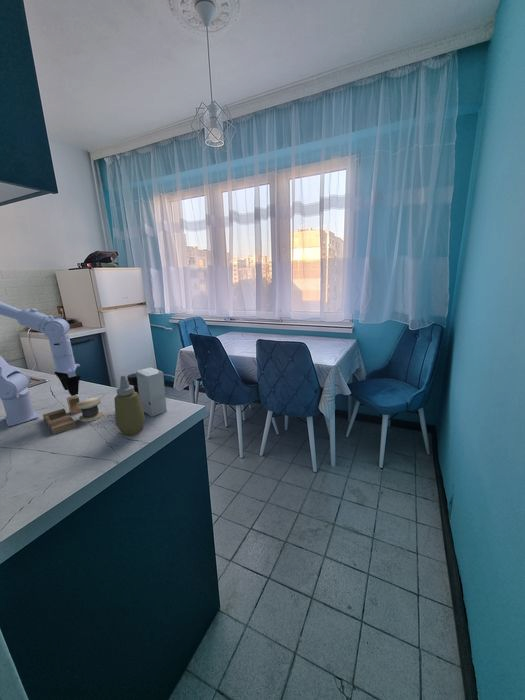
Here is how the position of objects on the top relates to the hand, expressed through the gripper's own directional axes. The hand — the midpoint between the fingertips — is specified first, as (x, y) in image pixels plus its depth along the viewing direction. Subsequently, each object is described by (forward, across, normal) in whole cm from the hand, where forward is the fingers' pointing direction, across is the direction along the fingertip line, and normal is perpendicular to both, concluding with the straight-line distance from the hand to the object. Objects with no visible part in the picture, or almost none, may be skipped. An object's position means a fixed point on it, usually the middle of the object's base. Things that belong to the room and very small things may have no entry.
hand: (71, 392), depth 101 cm
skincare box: (+8, -22, -19) cm, 30 cm away
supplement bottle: (+8, -13, -17) cm, 23 cm away
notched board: (+8, -6, +6) cm, 11 cm away
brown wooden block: (+8, 0, 0) cm, 8 cm away
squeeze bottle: (+8, -30, -8) cm, 32 cm away
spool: (+8, -9, -2) cm, 12 cm away
